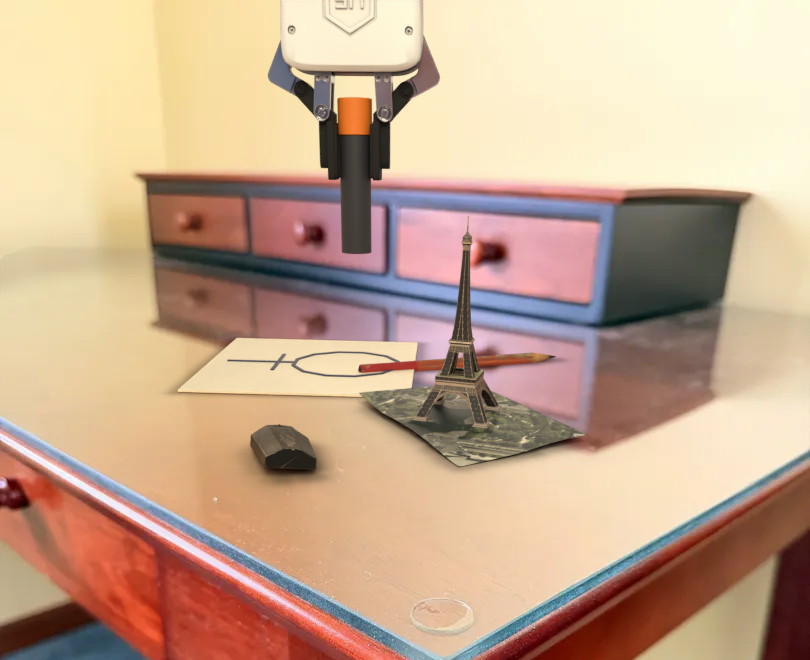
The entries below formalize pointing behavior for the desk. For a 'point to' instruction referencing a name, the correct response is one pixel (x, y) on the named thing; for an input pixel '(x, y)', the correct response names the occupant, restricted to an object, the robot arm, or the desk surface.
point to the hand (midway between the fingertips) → (355, 177)
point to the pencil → (438, 363)
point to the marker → (355, 173)
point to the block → (283, 448)
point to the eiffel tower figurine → (468, 401)
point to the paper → (303, 368)
